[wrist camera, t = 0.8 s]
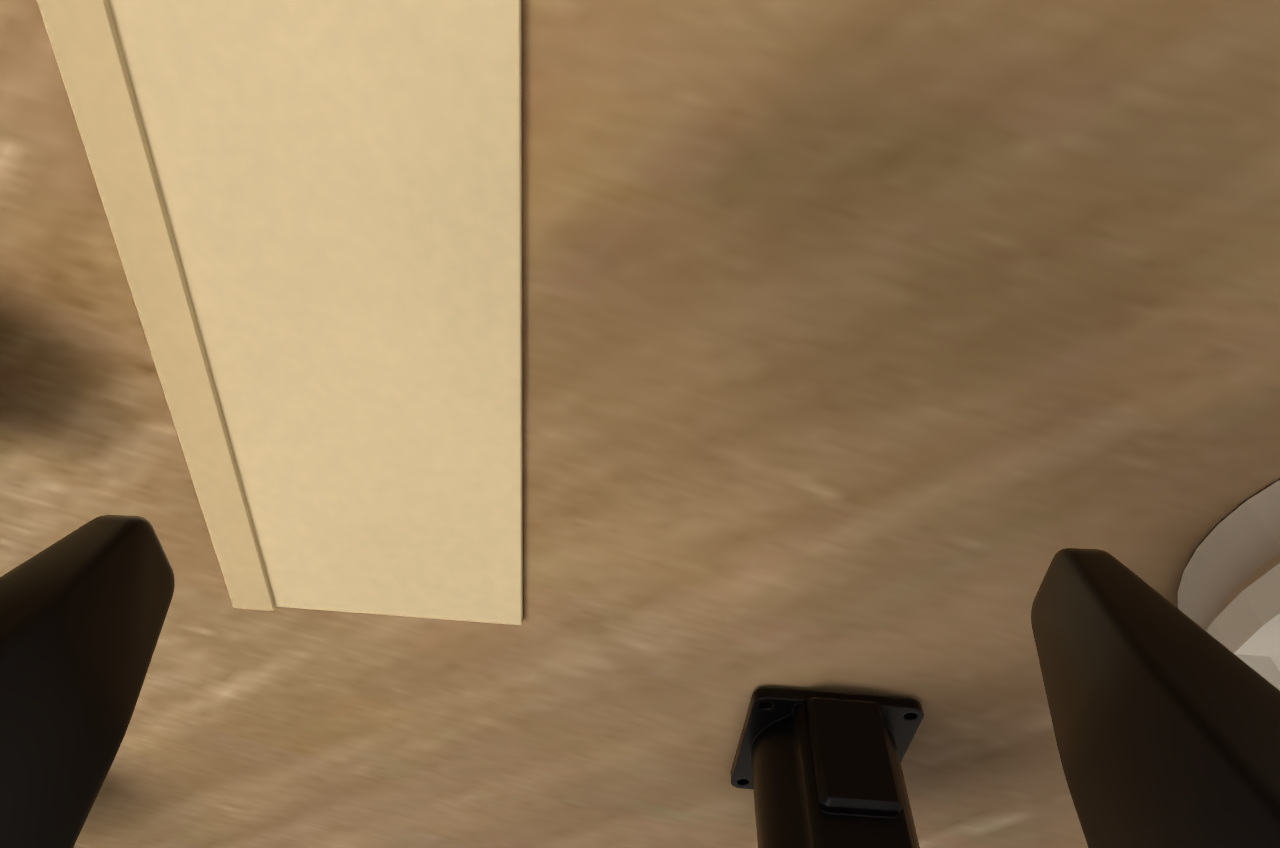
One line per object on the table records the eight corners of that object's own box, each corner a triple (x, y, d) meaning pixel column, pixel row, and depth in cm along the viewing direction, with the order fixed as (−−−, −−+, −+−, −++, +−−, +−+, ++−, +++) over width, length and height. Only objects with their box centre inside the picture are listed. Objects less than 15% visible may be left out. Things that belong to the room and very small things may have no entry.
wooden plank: (522, 618, 31) (520, 630, 30) (239, 597, 30) (233, 608, 30) (521, -96, 17) (517, -93, 17) (5, -148, 17) (-12, -146, 16)
